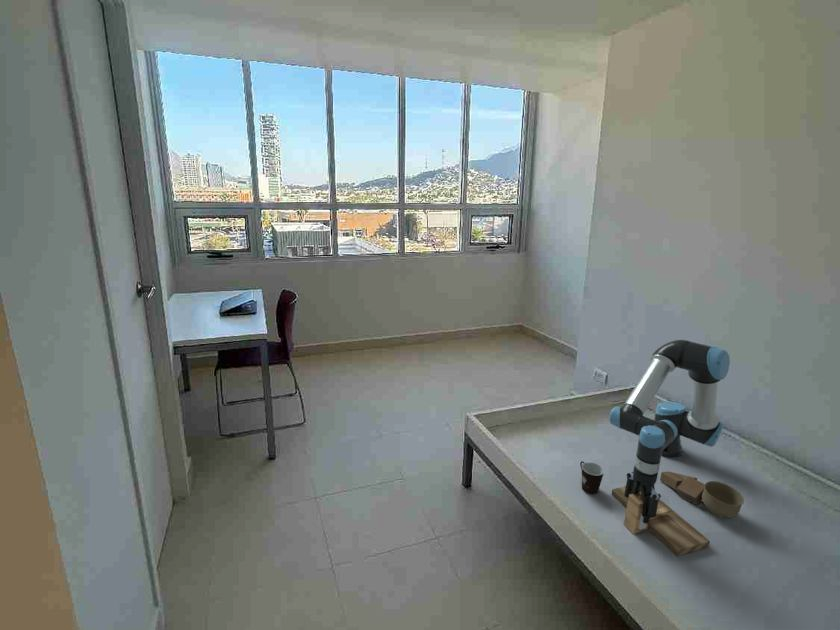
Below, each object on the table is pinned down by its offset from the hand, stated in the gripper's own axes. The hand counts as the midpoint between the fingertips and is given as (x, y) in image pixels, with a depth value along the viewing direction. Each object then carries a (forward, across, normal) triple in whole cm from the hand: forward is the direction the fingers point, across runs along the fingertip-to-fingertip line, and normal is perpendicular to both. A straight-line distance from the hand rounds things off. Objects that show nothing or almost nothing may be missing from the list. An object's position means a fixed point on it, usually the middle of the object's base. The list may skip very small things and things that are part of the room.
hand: (636, 522), depth 159 cm
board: (+2, -1, +11) cm, 11 cm away
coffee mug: (+2, -24, -2) cm, 24 cm away
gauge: (+2, 0, +6) cm, 6 cm away
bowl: (+3, +3, +36) cm, 37 cm away
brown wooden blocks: (+3, -11, +36) cm, 37 cm away
